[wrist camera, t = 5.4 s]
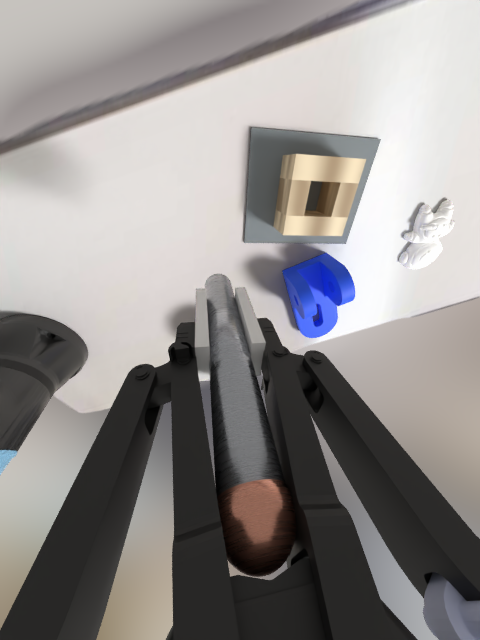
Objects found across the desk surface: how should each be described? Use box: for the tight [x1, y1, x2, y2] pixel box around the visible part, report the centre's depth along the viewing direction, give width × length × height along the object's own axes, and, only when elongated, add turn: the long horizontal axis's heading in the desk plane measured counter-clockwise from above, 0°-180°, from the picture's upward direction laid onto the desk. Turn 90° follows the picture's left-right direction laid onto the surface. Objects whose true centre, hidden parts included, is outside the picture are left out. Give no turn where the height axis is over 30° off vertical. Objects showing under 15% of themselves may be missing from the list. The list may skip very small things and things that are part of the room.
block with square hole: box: [273, 154, 366, 236], centre depth 30 cm, size 9×9×5 cm
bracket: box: [282, 253, 355, 338], centre depth 40 cm, size 18×8×9 cm, turn 21°
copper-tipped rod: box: [205, 274, 296, 577], centre depth 13 cm, size 3×3×17 cm
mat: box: [244, 127, 381, 244], centre depth 32 cm, size 18×14×1 cm
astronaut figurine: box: [399, 200, 455, 269], centre depth 38 cm, size 9×12×3 cm
